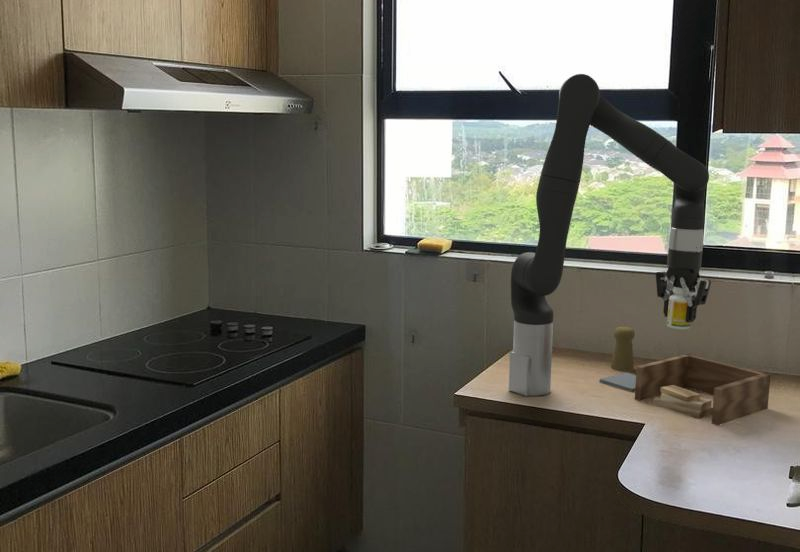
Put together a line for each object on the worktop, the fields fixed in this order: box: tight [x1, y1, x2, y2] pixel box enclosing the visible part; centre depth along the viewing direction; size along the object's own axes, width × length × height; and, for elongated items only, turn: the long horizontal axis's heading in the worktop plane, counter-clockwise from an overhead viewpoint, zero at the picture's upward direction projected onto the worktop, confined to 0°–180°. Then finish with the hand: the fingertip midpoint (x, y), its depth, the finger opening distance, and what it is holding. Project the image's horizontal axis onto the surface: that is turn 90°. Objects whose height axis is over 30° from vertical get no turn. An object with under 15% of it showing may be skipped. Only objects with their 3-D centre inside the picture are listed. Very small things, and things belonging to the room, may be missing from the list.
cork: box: [610, 326, 635, 372], centre depth 232 cm, size 6×6×11 cm
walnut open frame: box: [634, 353, 771, 426], centre depth 204 cm, size 20×22×8 cm
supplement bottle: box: [666, 287, 692, 331], centre depth 206 cm, size 5×5×10 cm
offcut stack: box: [653, 385, 713, 419], centre depth 200 cm, size 6×12×4 cm, turn 37°
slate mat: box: [599, 371, 636, 393], centre depth 219 cm, size 10×10×1 cm
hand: (679, 318), depth 207 cm, fingers closed on supplement bottle, 5 cm apart
